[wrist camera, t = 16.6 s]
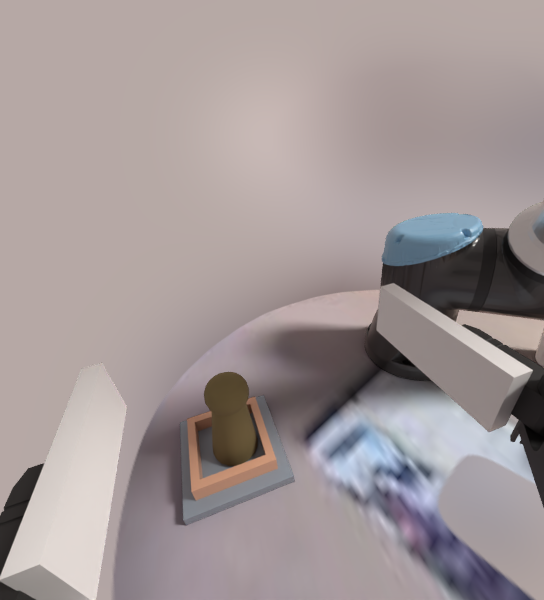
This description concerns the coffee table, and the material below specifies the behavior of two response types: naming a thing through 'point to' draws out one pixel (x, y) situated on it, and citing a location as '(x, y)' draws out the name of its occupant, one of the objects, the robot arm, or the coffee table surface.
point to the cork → (230, 419)
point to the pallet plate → (229, 479)
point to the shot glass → (540, 351)
